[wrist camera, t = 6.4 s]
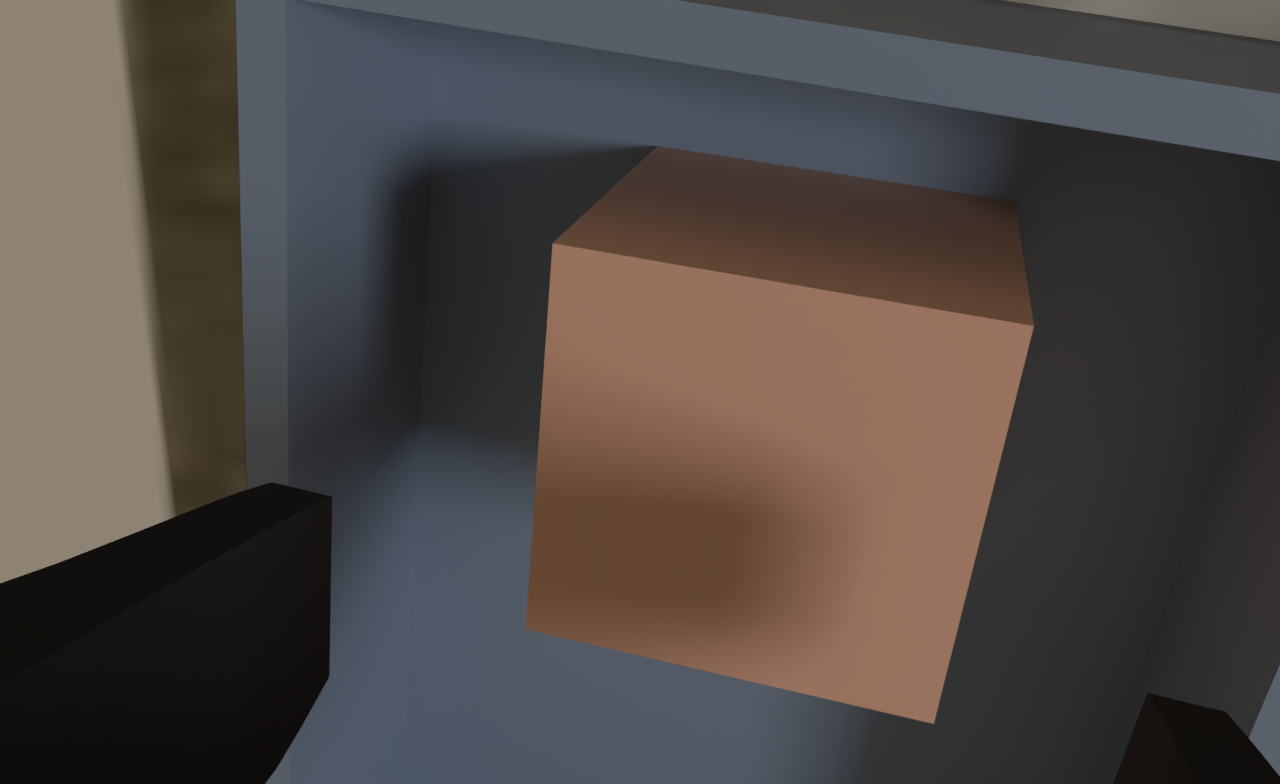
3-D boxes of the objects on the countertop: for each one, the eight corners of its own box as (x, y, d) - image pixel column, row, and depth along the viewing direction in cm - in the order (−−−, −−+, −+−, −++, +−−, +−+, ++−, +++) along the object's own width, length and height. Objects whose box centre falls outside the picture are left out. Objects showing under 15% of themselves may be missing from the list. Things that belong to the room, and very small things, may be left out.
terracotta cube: (1014, 201, 16) (1034, 326, 12) (941, 517, 19) (933, 723, 14) (657, 145, 17) (552, 243, 13) (625, 454, 19) (525, 628, 15)
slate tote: (1046, 999, 23) (1066, 1279, 18) (385, 812, 25) (258, 1021, 20) (1399, 59, 15) (1578, 140, 11) (419, -86, 17) (233, -70, 13)
